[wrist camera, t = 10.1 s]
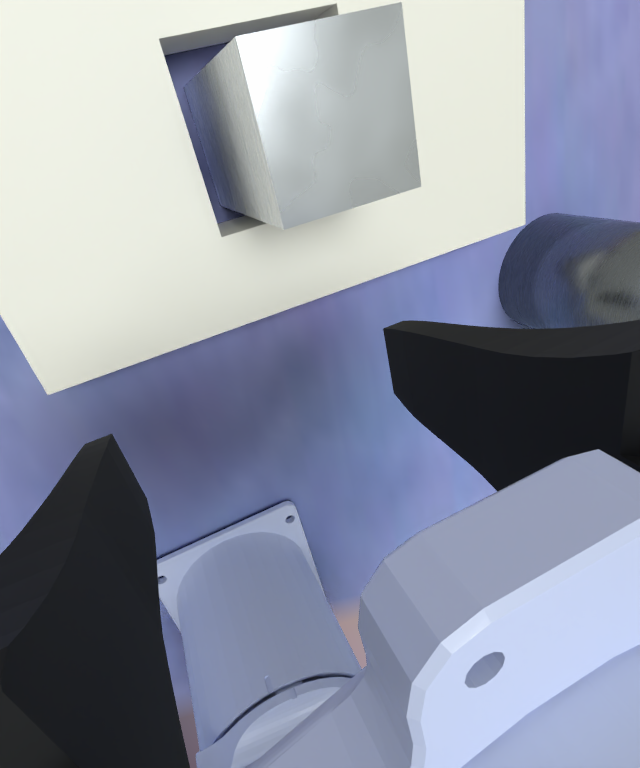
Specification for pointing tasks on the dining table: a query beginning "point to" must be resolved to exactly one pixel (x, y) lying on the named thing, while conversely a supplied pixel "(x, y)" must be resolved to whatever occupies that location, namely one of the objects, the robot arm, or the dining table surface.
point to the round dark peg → (572, 272)
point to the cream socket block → (186, 185)
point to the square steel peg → (309, 117)
